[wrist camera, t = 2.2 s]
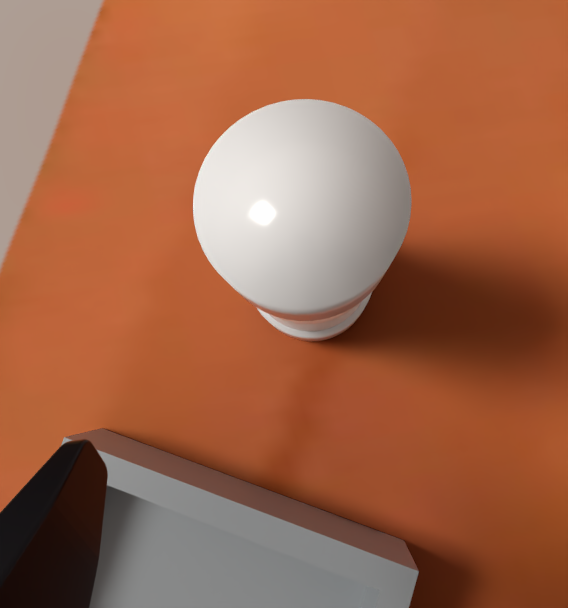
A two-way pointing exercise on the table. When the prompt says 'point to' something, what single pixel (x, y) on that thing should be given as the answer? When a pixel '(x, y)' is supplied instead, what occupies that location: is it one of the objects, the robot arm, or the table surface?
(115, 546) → the parts tray
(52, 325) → the table surface
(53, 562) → the robot arm
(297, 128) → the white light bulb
